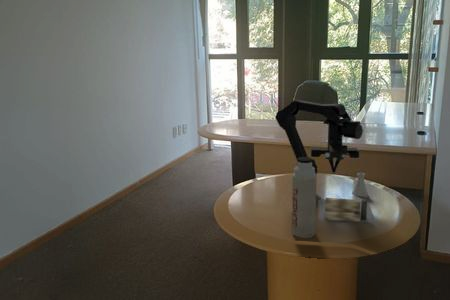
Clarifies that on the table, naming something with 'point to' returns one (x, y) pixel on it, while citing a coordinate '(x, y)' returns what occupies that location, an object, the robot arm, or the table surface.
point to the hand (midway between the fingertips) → (333, 172)
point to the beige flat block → (341, 205)
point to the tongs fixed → (348, 214)
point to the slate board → (322, 217)
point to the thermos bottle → (304, 198)
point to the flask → (360, 186)
